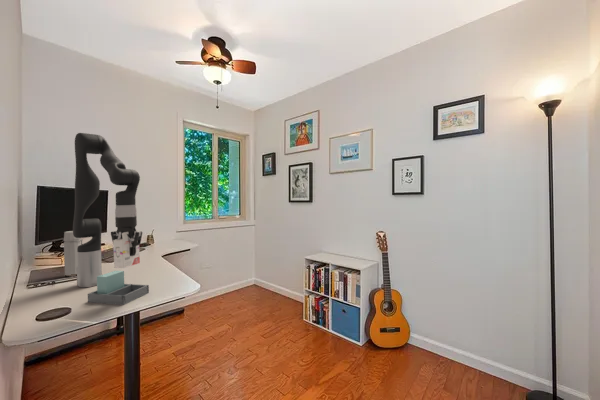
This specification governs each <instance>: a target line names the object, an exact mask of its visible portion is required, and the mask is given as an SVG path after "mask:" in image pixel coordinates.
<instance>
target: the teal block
mask: <svg viewBox="0 0 600 400" xmlns="http://www.w3.org/2000/svg"><path fill="white" fill-rule="evenodd" d="M124 284H125V271H124V270H113V271H110V272H107V273H104V274H103V273H102V275H100V276H97V285H96V288H97V289H96V291H97V294H108V293H111V292H113V291H116V290H118V289H121V288H123V287H124Z"/></svg>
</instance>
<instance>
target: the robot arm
mask: <svg viewBox="0 0 600 400" xmlns="http://www.w3.org/2000/svg"><path fill="white" fill-rule="evenodd" d="M89 154H90V155H91V154H93V155H101V156H100V158H99V162H100V164H101V165H100V166H101V167H102V168H103V169H104V170H105V171H106V172H107V174H108V177H109V180H110V182H111V183H112V184H113V185H115V186H125V187H126V188H125V190H120V191H117V192H115V209H114V210H115V211H114V214H115V215H114V217H115V218H114V219H115V223H114V225H115V228H117V229H116V230H115V231H114V230H113V231H111V232H110V235H111V240H112V242H113V240H117V239H122V233H124V232H128V234H127V236H128V242H129V245H130V256H134V255H135V254H136V246H137V245H139V246H140V245H141V241H142V236H143V231H139V230H138V231H136V230H137V229H136V227H137V226H138V225H137V224H138V221H137V207H136V206H137V205H136V202H137V201H136V196H137V195H136V194H137V192H138V191H137V190H138V187H139V185H140V181H141V179H140V178H141V177H140V174H139V172H138V171H137V170H136V169H127V168H126V165H125V163H123V161H121V160H120V158H119V157H118V156H117V155H116V154H115V152H114V150H112V148H111V145H110V144H109V142H108V141H107V140H106V138H105V137H104V136H102V135H100V134H93V133H86V132H85V133H84V132H77V134H75V138H74V155H75V178H74V179H75V180H74V210H73V211H74V214H73V222H72V231H73V235H74V237H75V238H81V239H85V238H91V239H90V240H88V241H87V242H85V243H82V245H81V244H80V245H79V246H78V248H77V252H78V267H77V276H76V286H77V287H79V288H90V287H94V286H95V287H96V286H97V276H100V275H103V273H102V272H103V271H102V222H101V221H102V220H101V219H99V218H84V216H85V214H86V212H87V210H88V209H89V208H90V206H91V205H92V204H94V203H95V201H96V200H97V198H98V197H99V196H100V186H101V182H100V179H99V177H98V176H97V174H96V172H94V171H93V169H92V167H91V165H90V164H89V161H88V158H87V157H88V155H89ZM133 237H134V239H132V240H131V238H133ZM132 241H133V244H132Z"/></svg>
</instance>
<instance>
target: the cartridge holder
mask: <svg viewBox="0 0 600 400" xmlns="http://www.w3.org/2000/svg"><path fill="white" fill-rule="evenodd" d="M149 291H150V286H149V284H135V283H134V284H133V283H124V287H123V288H121V289H118V290H116V291H113V292H111V293H108V294H97V290H95V291H92V292H88V293H87V303H97V304H107V305H120V306H124V305H127V304H128V303H131V302H132V301H136V300H137V299H140V298H141V297H143V296H145V295H148V294H149Z"/></svg>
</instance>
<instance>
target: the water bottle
mask: <svg viewBox="0 0 600 400" xmlns="http://www.w3.org/2000/svg"><path fill="white" fill-rule="evenodd" d="M63 233H64V234H63V257H64V258H63V259H64V261H63V262H64V276H65V275H71V274H77V267H78V252H77V248H78V246H79V245H82V244H83V239H84V238H75V237H74V235H73V230H69V231H64V232H63Z"/></svg>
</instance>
